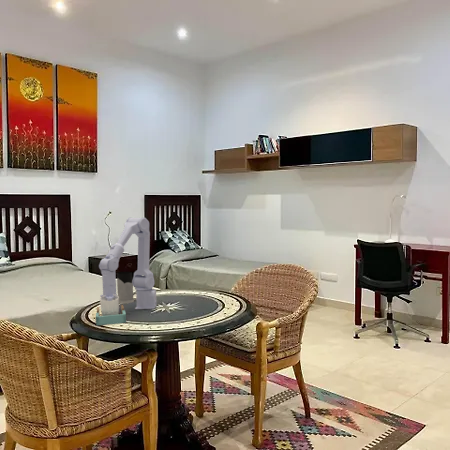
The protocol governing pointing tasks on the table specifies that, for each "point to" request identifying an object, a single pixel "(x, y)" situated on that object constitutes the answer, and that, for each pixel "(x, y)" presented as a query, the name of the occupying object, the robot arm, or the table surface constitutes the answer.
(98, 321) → the tray
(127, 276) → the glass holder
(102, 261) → the robot arm
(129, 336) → the table surface
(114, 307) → the white cup
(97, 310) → the holster cradle
